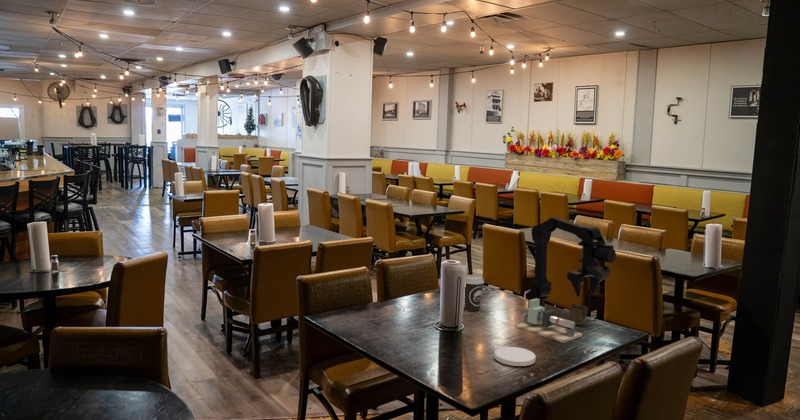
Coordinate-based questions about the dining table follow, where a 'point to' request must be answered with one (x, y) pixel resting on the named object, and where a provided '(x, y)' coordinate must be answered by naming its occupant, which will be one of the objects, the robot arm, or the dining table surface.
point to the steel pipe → (555, 322)
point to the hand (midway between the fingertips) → (585, 295)
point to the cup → (578, 313)
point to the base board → (548, 331)
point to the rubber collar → (545, 317)
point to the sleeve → (534, 311)
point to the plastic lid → (514, 356)
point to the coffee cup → (473, 293)
